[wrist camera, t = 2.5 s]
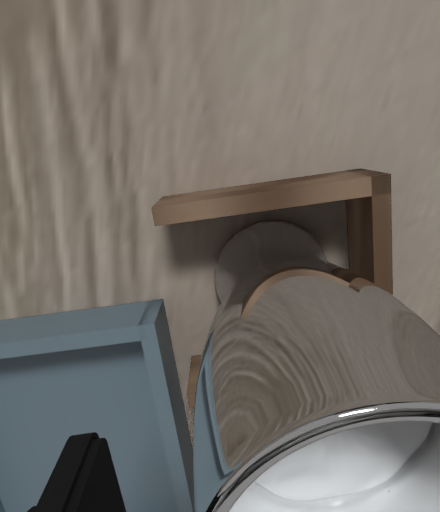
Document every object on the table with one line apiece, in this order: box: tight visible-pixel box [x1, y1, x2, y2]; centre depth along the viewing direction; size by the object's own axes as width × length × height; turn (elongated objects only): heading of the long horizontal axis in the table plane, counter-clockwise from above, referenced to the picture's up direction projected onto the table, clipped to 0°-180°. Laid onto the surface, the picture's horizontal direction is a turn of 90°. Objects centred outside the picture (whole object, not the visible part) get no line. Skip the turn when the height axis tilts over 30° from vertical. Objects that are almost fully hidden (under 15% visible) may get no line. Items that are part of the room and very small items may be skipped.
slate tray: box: [0, 299, 195, 512], centre depth 22 cm, size 13×16×3 cm
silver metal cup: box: [193, 221, 440, 512], centre depth 14 cm, size 7×7×15 cm
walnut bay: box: [152, 169, 393, 408], centre depth 19 cm, size 10×10×4 cm
